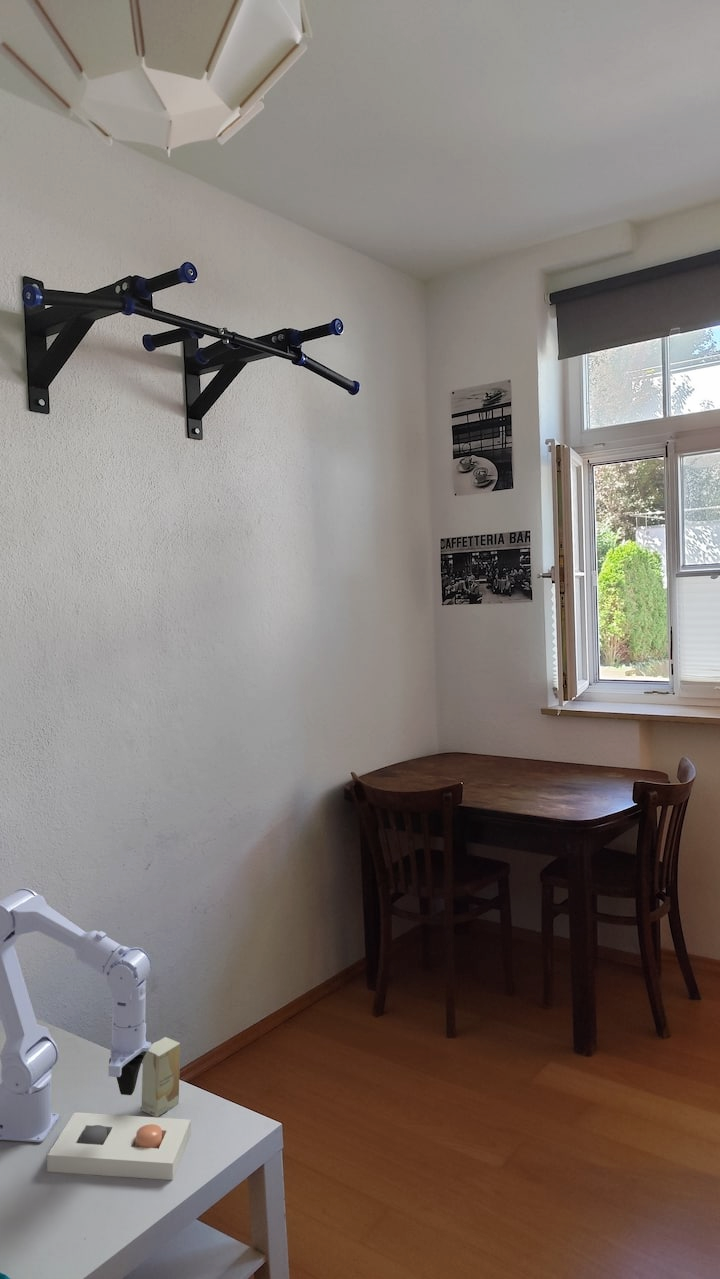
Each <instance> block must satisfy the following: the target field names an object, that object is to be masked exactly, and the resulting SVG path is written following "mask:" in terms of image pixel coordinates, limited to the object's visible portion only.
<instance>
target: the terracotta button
mask: <svg viewBox="0 0 720 1279" xmlns="http://www.w3.org/2000/svg"><path fill="white" fill-rule="evenodd" d="M161 1142H162V1129H161V1127H159V1126H158V1125H154V1124H150V1125H145V1126H143V1127H141V1128H139V1129H138V1131H137V1133H136V1147H142V1148H157V1149H159V1147H160V1145H161Z"/></svg>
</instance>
